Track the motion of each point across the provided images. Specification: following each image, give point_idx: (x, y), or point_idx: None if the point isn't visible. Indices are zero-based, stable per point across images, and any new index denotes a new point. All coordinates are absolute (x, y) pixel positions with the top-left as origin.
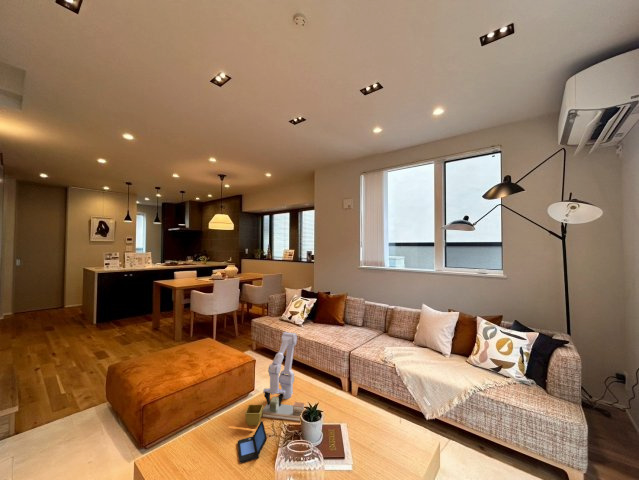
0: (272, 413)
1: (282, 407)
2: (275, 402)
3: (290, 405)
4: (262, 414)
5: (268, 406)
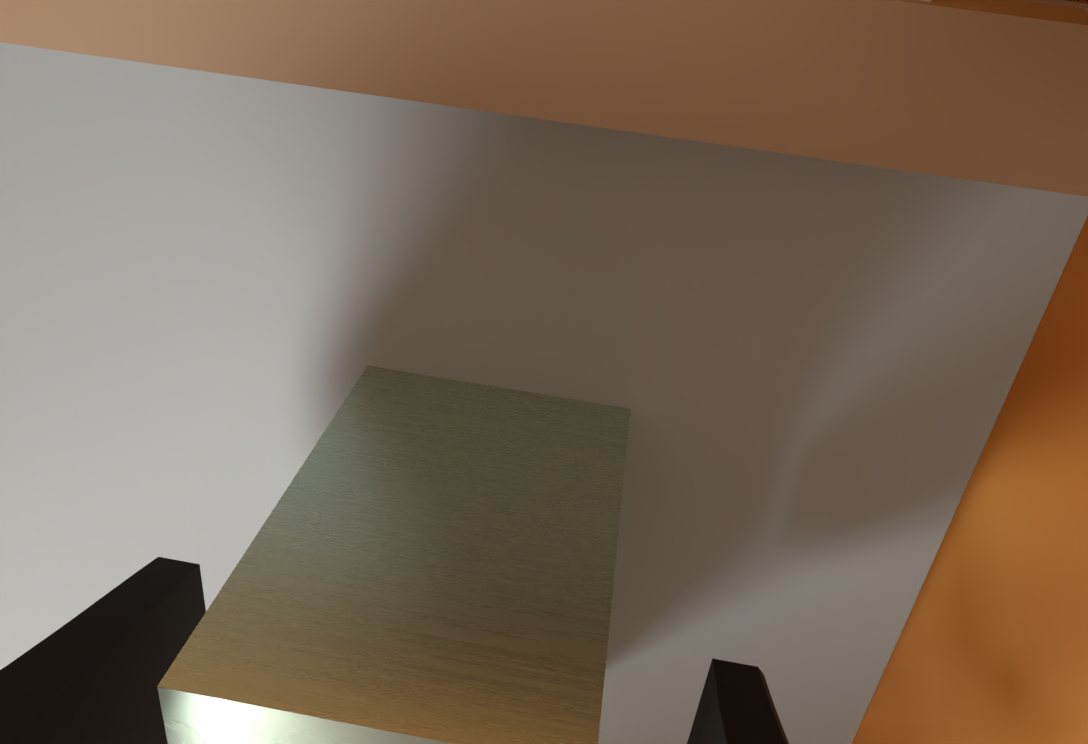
0: (328, 45)
1: None
2: (175, 683)
3: None
4: (961, 6)
5: None
